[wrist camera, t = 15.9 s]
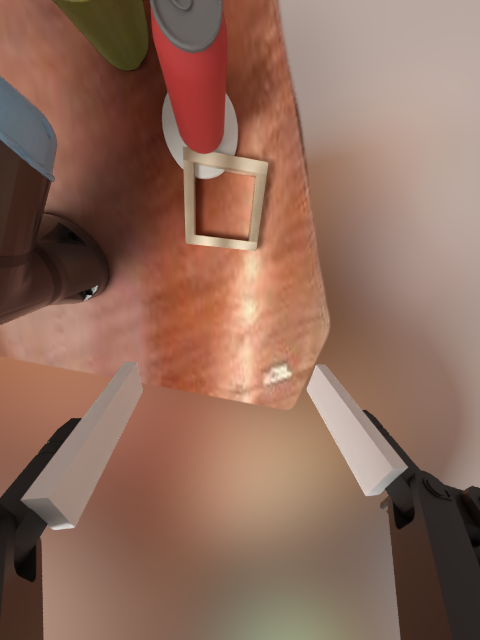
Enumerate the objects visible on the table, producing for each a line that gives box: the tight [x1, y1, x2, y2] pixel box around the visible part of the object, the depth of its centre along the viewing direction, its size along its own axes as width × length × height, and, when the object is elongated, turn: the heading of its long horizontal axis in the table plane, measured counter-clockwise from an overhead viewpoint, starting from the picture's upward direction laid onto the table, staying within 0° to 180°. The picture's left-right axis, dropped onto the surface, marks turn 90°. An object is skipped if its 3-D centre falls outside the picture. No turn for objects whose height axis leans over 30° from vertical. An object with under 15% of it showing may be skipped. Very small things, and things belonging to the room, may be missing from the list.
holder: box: [183, 147, 268, 251], centre depth 29 cm, size 13×13×2 cm
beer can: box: [150, 0, 227, 154], centre depth 19 cm, size 7×7×12 cm
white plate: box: [162, 92, 238, 179], centre depth 25 cm, size 11×11×1 cm
